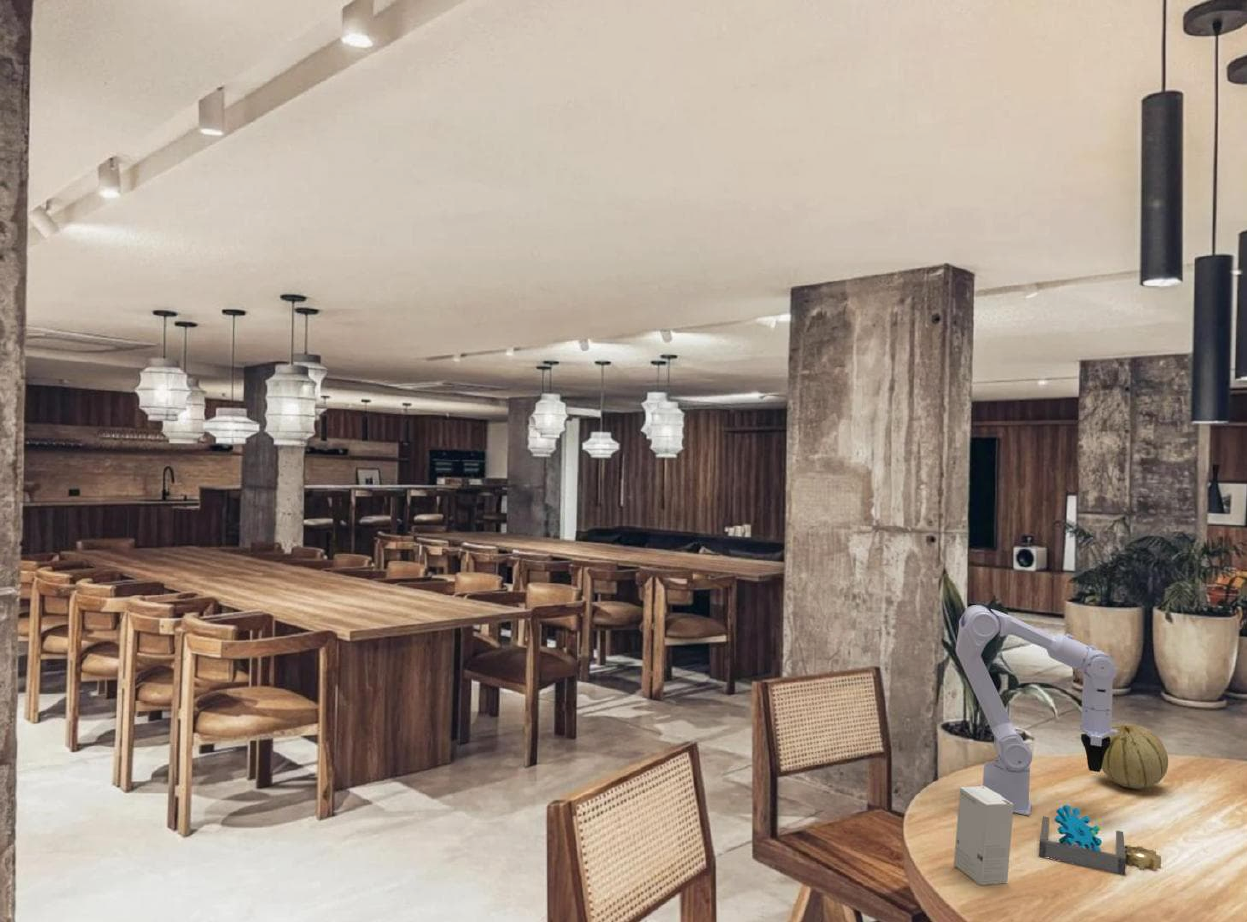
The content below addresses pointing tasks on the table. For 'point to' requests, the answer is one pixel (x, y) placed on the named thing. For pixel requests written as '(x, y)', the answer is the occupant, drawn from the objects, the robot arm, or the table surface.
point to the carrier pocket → (1098, 854)
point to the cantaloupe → (1135, 757)
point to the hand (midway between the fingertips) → (1094, 770)
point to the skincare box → (983, 835)
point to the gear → (1077, 829)
